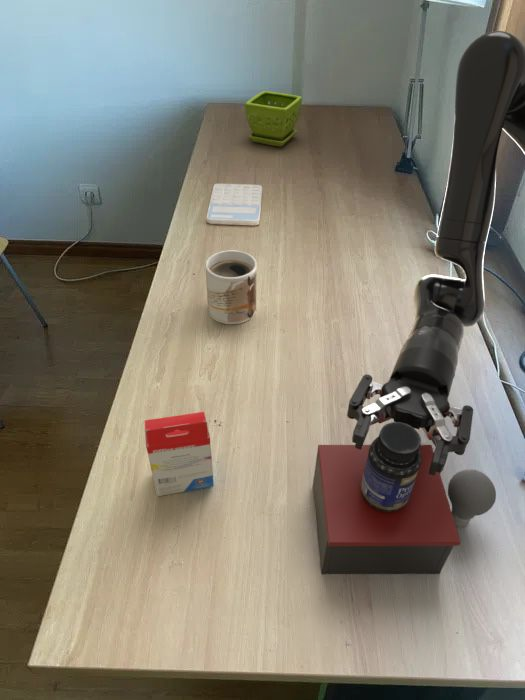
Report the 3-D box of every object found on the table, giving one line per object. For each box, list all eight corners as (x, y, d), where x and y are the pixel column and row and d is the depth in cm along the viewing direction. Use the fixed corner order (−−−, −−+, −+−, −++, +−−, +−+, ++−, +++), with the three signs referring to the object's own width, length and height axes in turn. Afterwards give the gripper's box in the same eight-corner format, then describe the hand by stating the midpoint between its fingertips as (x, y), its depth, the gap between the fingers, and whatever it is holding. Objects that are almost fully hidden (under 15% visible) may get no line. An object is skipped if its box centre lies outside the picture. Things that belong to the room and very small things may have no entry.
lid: (458, 545, 67) (460, 542, 66) (328, 546, 67) (329, 542, 66) (430, 448, 78) (431, 444, 77) (317, 448, 77) (318, 444, 77)
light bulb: (478, 506, 81) (499, 464, 74) (481, 544, 77) (504, 502, 70) (436, 498, 82) (452, 456, 75) (437, 535, 78) (455, 493, 71)
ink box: (209, 461, 86) (204, 395, 76) (214, 488, 83) (209, 422, 73) (153, 470, 85) (141, 404, 75) (155, 498, 81) (143, 432, 71)
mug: (198, 301, 116) (195, 255, 109) (249, 285, 121) (249, 240, 113) (221, 330, 109) (219, 283, 102) (274, 312, 114) (276, 266, 107)
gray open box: (440, 573, 74) (456, 539, 68) (321, 574, 73) (327, 539, 67) (417, 485, 84) (430, 448, 78) (312, 485, 83) (317, 448, 77)
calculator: (262, 190, 154) (262, 183, 153) (259, 226, 139) (259, 219, 138) (214, 188, 155) (213, 181, 153) (205, 224, 140) (205, 217, 138)
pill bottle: (398, 522, 68) (417, 467, 61) (352, 500, 70) (364, 444, 63) (415, 485, 72) (434, 430, 65) (370, 465, 74) (384, 409, 67)
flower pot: (300, 136, 184) (303, 95, 175) (284, 151, 174) (286, 109, 166) (261, 129, 188) (262, 88, 179) (243, 143, 178) (243, 102, 170)
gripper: (377, 331, 74) (338, 415, 63) (488, 362, 70) (468, 458, 59) (369, 372, 79) (331, 456, 68) (472, 403, 75) (451, 499, 64)
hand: (395, 457), depth 63 cm, fingers open, 8 cm apart
